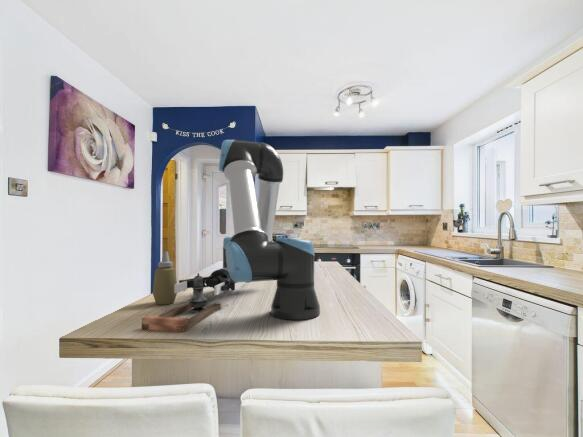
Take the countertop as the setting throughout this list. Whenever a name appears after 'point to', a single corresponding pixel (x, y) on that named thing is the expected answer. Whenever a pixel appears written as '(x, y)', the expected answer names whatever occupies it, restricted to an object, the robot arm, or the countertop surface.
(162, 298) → the squeeze bottle
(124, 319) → the countertop surface
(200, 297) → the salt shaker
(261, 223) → the robot arm
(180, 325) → the track
